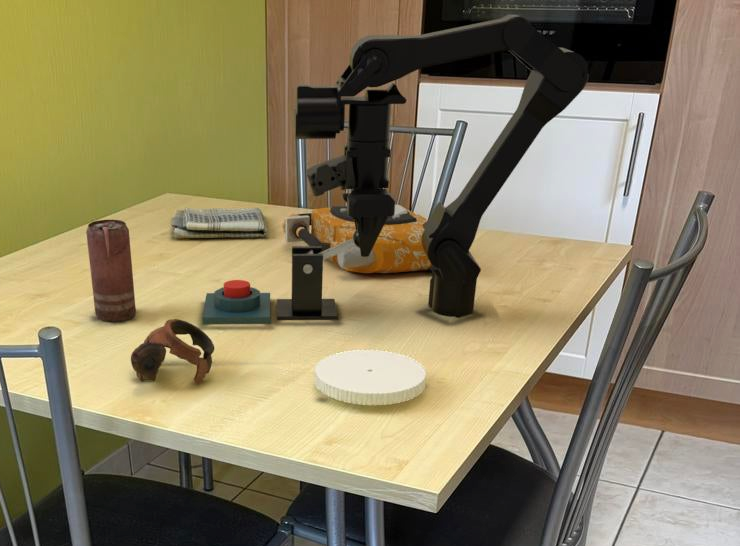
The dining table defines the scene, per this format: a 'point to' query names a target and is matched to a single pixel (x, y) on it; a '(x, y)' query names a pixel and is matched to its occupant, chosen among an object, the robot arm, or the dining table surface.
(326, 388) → the plastic lid
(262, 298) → the button housing
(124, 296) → the can
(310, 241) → the device
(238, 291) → the red button
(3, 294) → the dining table surface
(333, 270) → the dining table surface
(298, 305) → the lever bracket
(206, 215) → the dish towel
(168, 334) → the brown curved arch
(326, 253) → the lever handle
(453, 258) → the robot arm
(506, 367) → the dining table surface
